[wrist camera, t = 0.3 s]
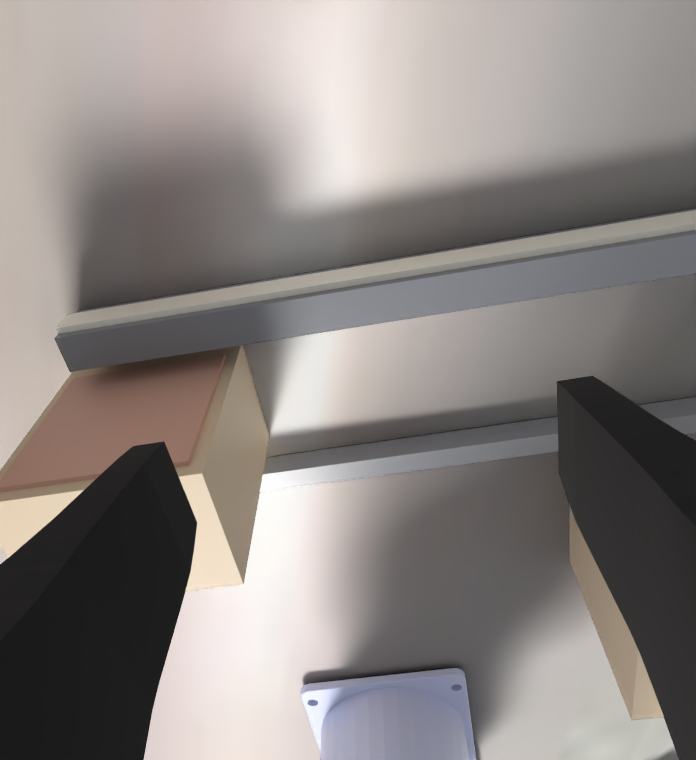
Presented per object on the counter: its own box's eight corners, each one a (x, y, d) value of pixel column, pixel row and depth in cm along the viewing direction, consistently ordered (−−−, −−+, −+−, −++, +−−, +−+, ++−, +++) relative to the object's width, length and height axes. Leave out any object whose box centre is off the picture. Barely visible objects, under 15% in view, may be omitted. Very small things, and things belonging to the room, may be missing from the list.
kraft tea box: (569, 560, 27) (631, 720, 21) (569, 448, 24) (642, 598, 18) (670, 548, 27) (762, 707, 21) (683, 432, 24) (796, 580, 18)
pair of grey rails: (856, 392, 23) (897, 425, 21) (155, 489, 25) (140, 526, 23) (919, 163, 19) (977, 180, 17) (75, 305, 21) (51, 332, 19)
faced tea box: (269, 435, 24) (243, 584, 18) (116, 458, 24) (40, 609, 18) (240, 338, 22) (200, 468, 16) (73, 364, 22) (-28, 500, 16)
